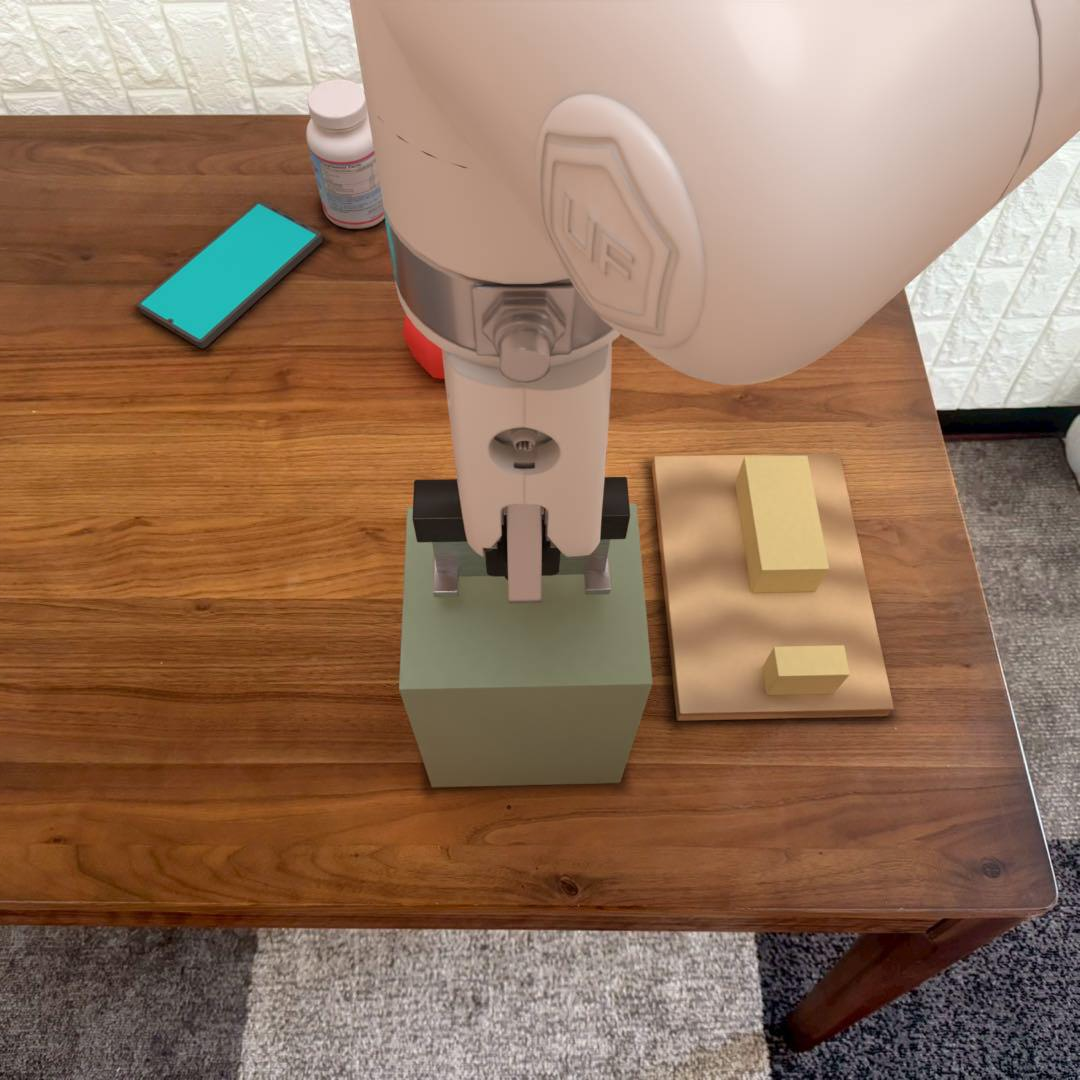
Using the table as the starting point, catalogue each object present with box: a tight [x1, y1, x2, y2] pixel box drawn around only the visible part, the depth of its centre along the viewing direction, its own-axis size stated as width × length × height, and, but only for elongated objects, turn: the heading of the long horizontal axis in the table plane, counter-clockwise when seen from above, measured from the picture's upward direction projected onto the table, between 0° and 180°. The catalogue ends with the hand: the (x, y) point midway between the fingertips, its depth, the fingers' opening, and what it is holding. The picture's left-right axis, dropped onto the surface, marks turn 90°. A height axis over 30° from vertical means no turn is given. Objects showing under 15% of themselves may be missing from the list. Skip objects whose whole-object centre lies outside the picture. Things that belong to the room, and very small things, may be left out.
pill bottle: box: [305, 78, 385, 230], centre depth 81 cm, size 6×6×11 cm
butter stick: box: [735, 456, 829, 593], centre depth 67 cm, size 9×4×4 cm, turn 2°
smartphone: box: [136, 200, 324, 349], centre depth 81 cm, size 7×1×15 cm
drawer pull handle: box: [412, 476, 630, 598], centre depth 43 cm, size 2×9×7 cm, turn 91°
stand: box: [398, 503, 653, 788], centre depth 56 cm, size 10×12×18 cm
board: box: [651, 452, 895, 722], centre depth 68 cm, size 20×14×2 cm
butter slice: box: [762, 645, 850, 695], centre depth 62 cm, size 2×4×4 cm, turn 92°
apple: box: [402, 314, 445, 380], centre depth 74 cm, size 8×8×8 cm
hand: (522, 541), depth 43 cm, fingers closed on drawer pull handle, 2 cm apart
